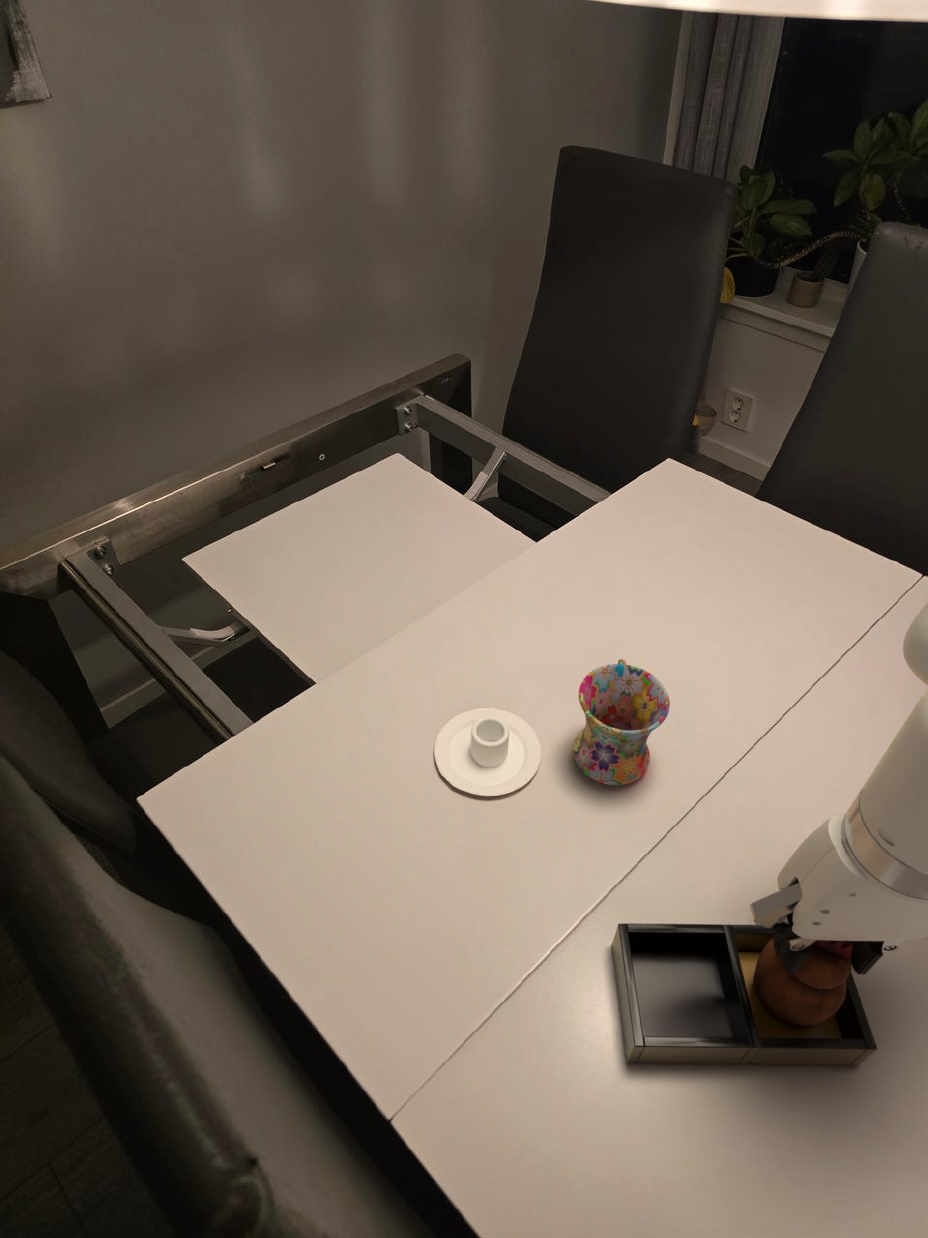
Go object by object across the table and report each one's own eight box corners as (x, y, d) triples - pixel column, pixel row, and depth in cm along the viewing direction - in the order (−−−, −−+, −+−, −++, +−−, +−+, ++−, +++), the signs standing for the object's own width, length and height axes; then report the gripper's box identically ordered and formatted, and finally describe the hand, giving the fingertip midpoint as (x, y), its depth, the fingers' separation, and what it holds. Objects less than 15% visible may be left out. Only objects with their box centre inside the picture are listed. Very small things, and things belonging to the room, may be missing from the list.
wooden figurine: (732, 994, 69) (780, 920, 58) (765, 948, 72) (817, 869, 61) (803, 1054, 66) (868, 986, 55) (835, 1003, 69) (902, 929, 58)
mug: (652, 798, 84) (671, 738, 77) (566, 786, 85) (576, 726, 78) (651, 711, 93) (667, 650, 85) (572, 702, 94) (582, 640, 86)
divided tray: (819, 947, 73) (836, 925, 70) (857, 1067, 66) (877, 1049, 62) (611, 944, 73) (618, 923, 70) (626, 1064, 66) (634, 1046, 63)
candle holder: (434, 801, 84) (433, 778, 81) (433, 713, 92) (433, 689, 89) (546, 798, 84) (549, 775, 81) (535, 710, 93) (537, 687, 90)
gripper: (1017, 786, 52) (907, 910, 65) (761, 784, 52) (702, 908, 65) (1079, 894, 46) (946, 1006, 59) (794, 891, 47) (722, 1003, 59)
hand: (819, 953), depth 62 cm, fingers closed on wooden figurine, 4 cm apart
